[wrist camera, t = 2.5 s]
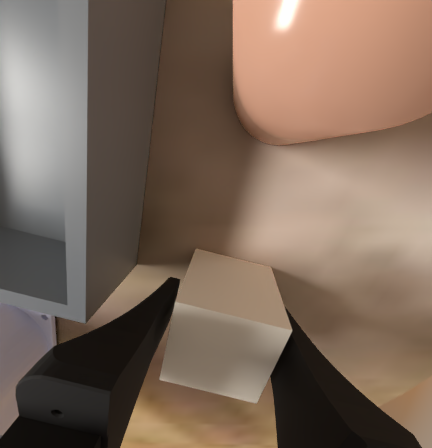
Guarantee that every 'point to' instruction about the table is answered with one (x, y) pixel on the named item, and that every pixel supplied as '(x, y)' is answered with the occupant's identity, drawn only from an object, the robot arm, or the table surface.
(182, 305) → the cream cube
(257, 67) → the terracotta cylinder
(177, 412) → the table surface
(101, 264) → the slate tote
